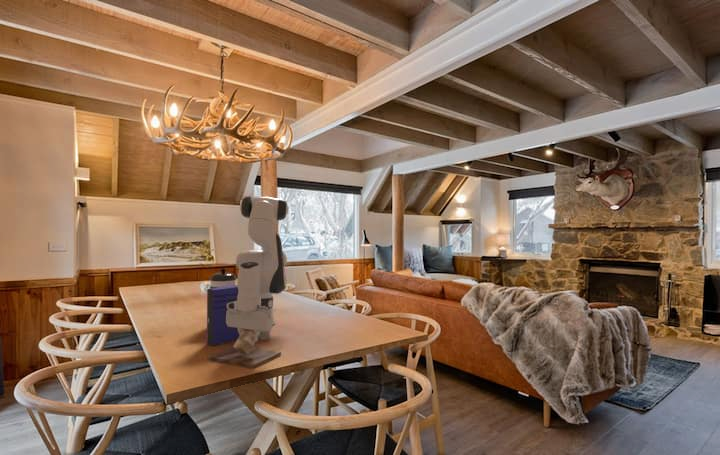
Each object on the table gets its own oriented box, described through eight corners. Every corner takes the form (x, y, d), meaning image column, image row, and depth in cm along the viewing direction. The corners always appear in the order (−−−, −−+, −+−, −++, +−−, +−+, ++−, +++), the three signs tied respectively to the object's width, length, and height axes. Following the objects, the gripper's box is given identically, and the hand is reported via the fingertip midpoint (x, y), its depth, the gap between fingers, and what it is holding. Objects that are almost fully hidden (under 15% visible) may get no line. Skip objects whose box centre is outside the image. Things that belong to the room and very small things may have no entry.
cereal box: (242, 335, 173) (242, 284, 173) (248, 337, 170) (248, 285, 170) (206, 344, 160) (207, 288, 160) (212, 346, 157) (213, 289, 157)
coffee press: (198, 329, 184) (199, 269, 185) (219, 322, 200) (220, 266, 200) (228, 332, 179) (229, 270, 180) (247, 324, 195) (248, 267, 195)
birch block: (248, 354, 140) (258, 335, 145) (242, 348, 137) (252, 329, 143) (239, 352, 142) (249, 334, 147) (233, 346, 139) (243, 328, 144)
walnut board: (207, 359, 140) (207, 356, 140) (237, 347, 155) (237, 344, 155) (253, 368, 131) (253, 365, 131) (280, 355, 146) (280, 351, 146)
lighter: (269, 338, 169) (269, 320, 169) (269, 339, 167) (269, 321, 167) (253, 339, 167) (253, 321, 167) (253, 340, 166) (253, 322, 166)
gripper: (276, 305, 142) (275, 341, 142) (235, 301, 151) (234, 335, 151) (265, 308, 137) (265, 346, 137) (223, 303, 145) (223, 339, 145)
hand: (248, 340), depth 144 cm, fingers closed on birch block, 4 cm apart
